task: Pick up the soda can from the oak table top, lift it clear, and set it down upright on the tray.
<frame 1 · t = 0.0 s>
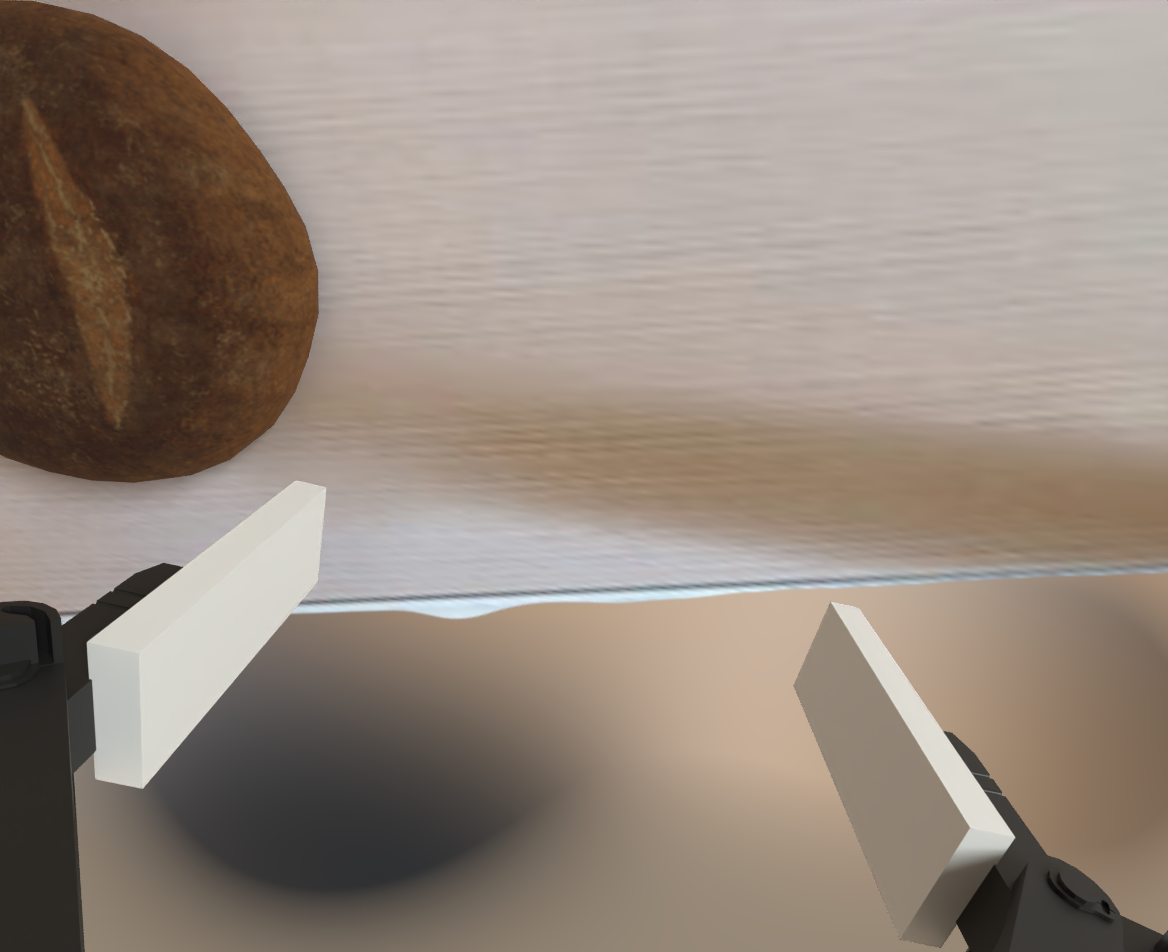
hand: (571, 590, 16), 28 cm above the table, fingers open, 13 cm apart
bread: (118, 268, 41), on the table
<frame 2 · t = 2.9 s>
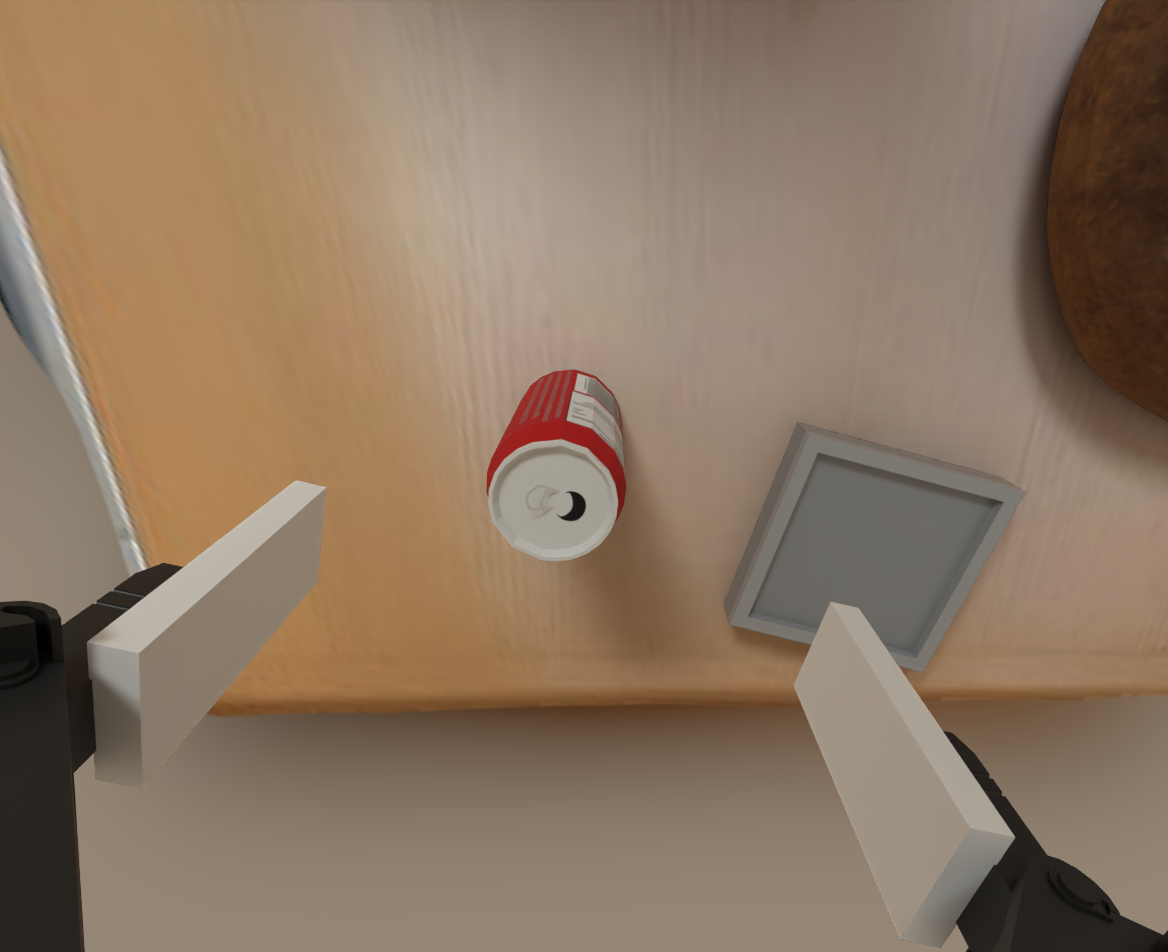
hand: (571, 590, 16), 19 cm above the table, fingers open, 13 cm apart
tray: (856, 544, 36), on the table
soda can: (570, 416, 34), on the table
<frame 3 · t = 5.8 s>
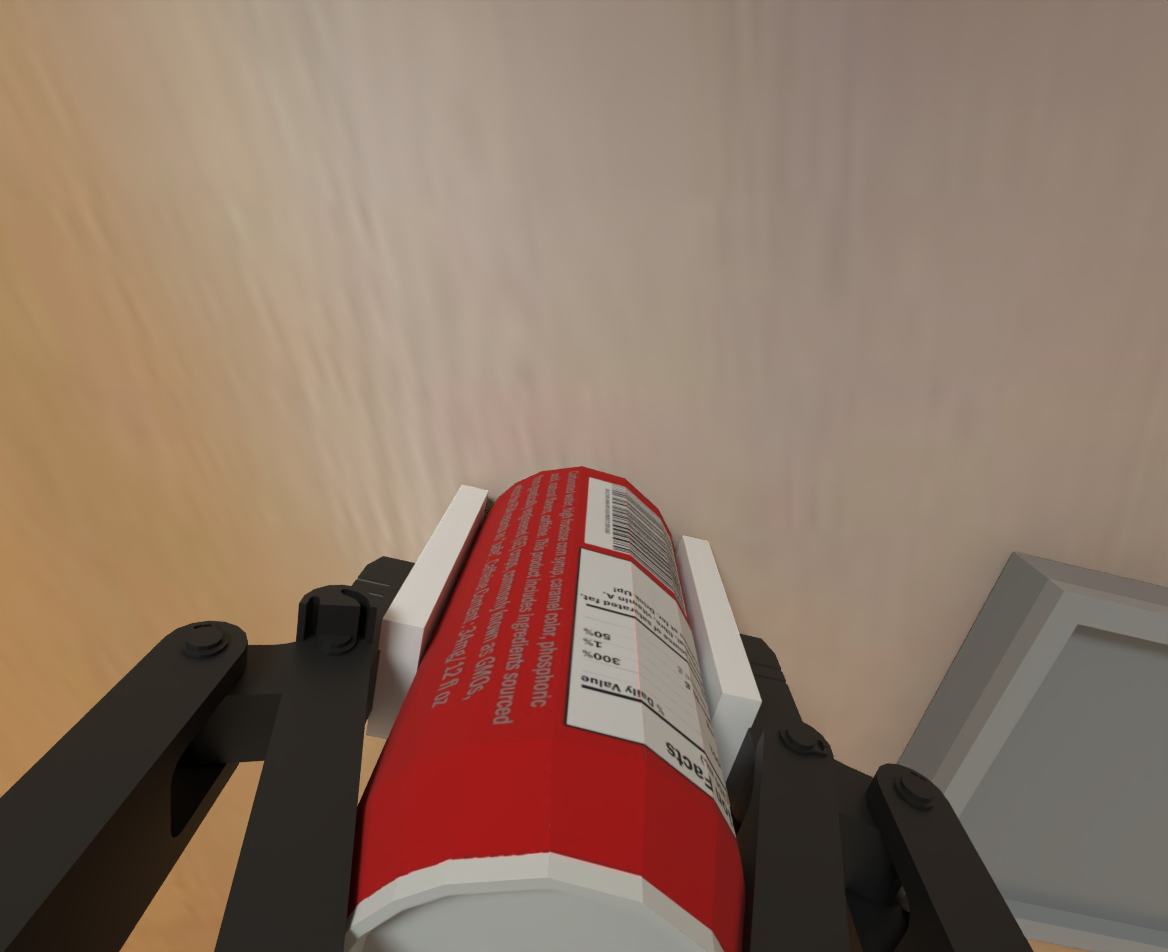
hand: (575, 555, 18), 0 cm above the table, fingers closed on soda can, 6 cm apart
tray: (1100, 754, 20), on the table
soda can: (576, 546, 18), on the table, touching gripper
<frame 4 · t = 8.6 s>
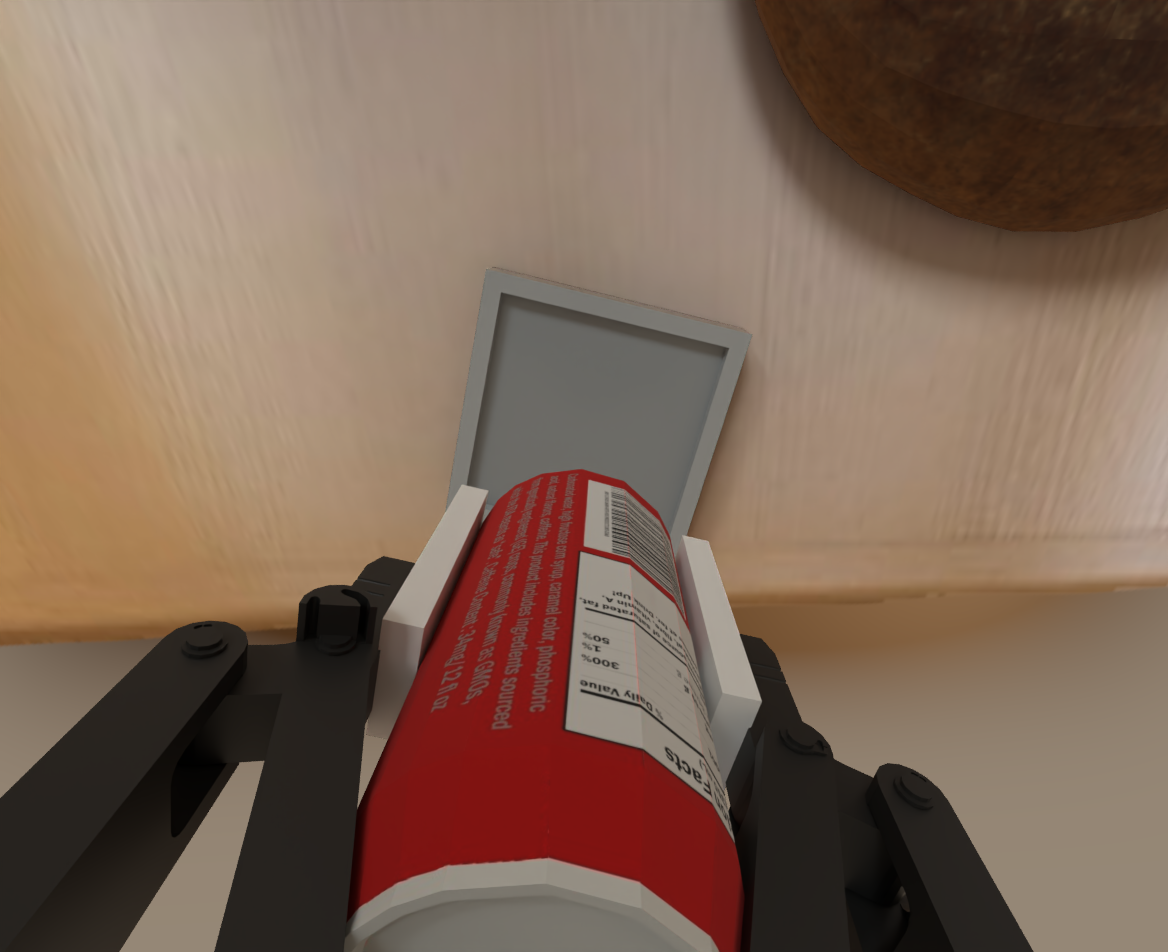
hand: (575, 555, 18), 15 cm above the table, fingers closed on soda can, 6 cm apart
tray: (590, 418, 31), on the table
soda can: (575, 549, 18), point 14 cm above the table, touching gripper
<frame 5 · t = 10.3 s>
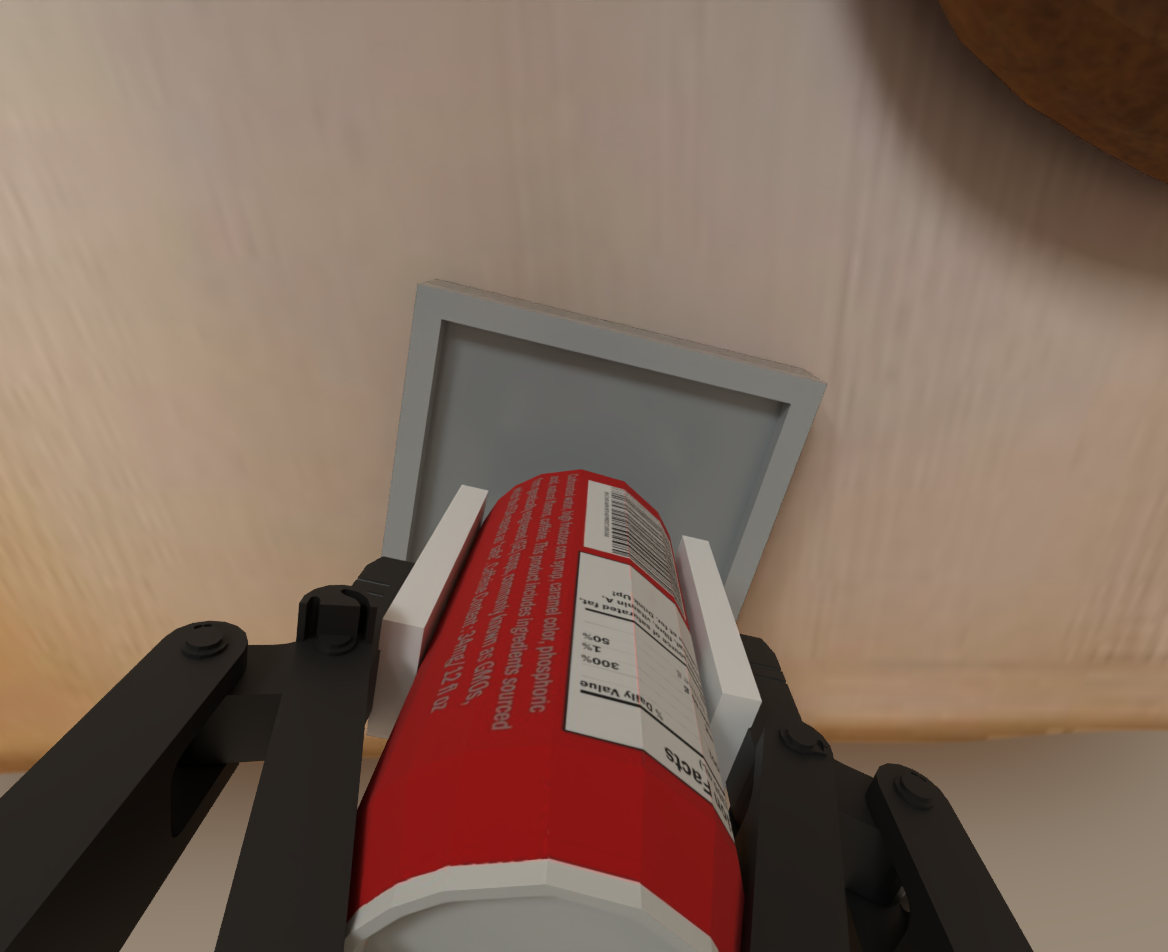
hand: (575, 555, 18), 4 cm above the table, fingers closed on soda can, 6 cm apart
tray: (580, 495, 22), on the table
soda can: (575, 549, 18), point 4 cm above the table, touching gripper
when the fingers open (3 cm above the table, at t = 11.3 s): soda can drops 1 cm, resting on tray.
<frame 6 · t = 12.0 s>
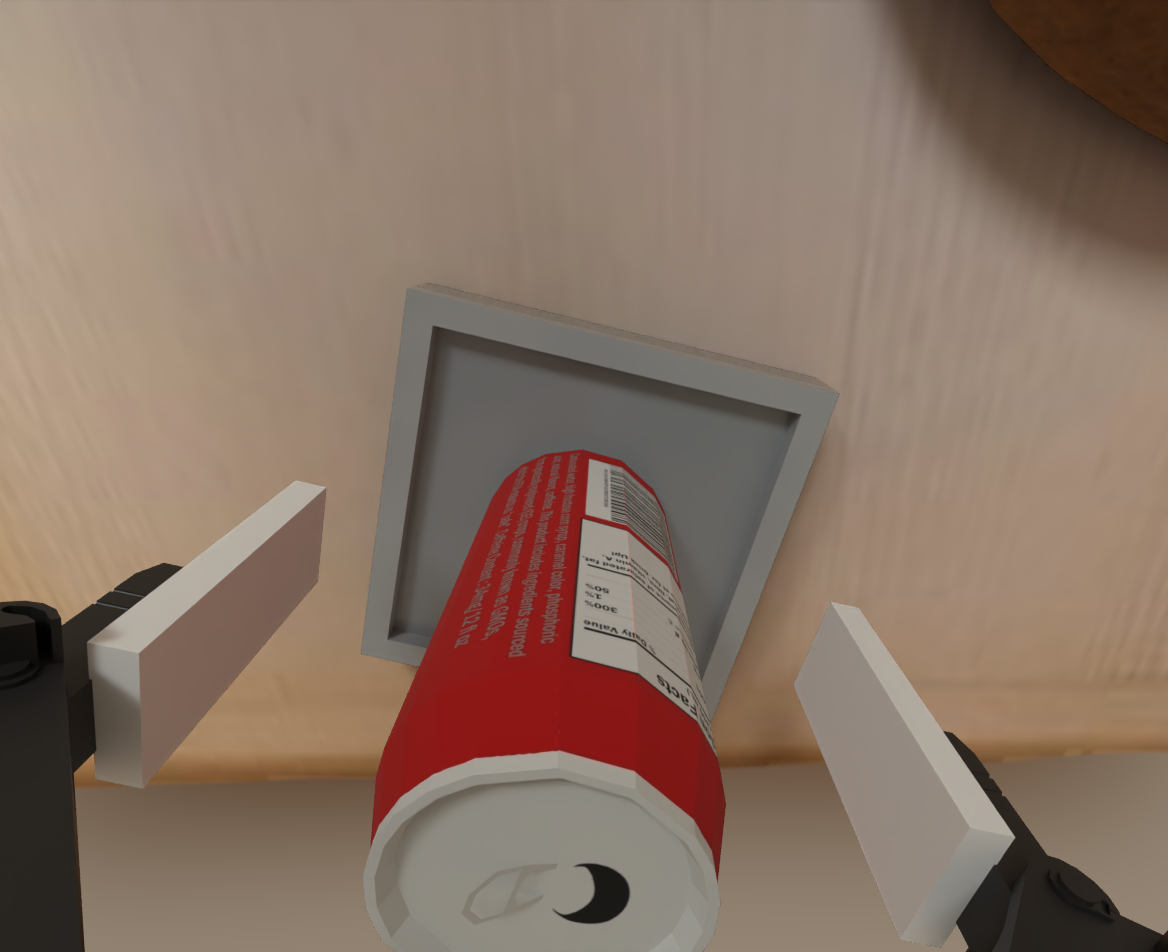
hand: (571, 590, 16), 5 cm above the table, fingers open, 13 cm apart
tray: (579, 508, 21), on the table
soda can: (577, 525, 20), point 1 cm above the table, touching tray
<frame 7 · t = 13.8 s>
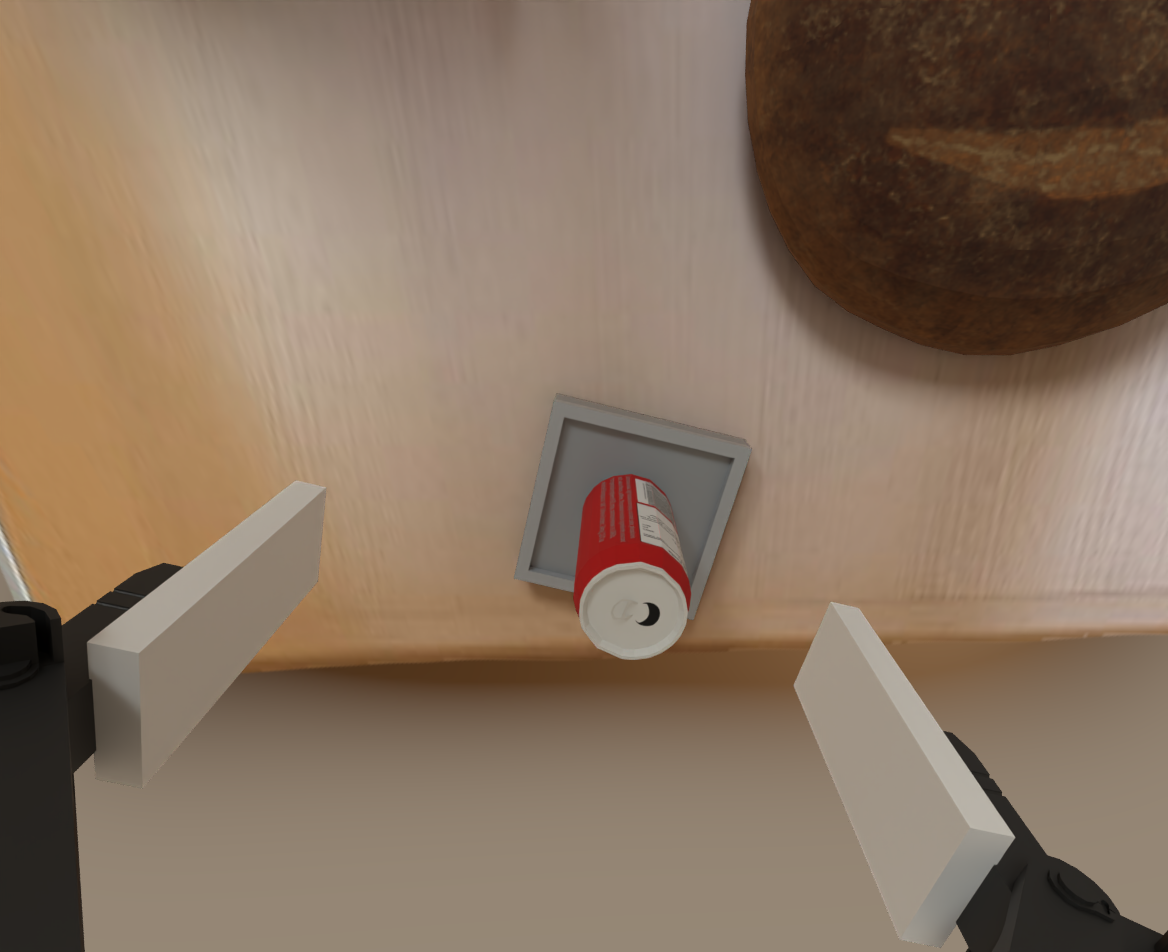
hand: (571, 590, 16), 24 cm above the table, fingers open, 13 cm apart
bread: (998, 74, 32), on the table
tray: (626, 504, 40), on the table
soda can: (626, 511, 39), point 1 cm above the table, touching tray
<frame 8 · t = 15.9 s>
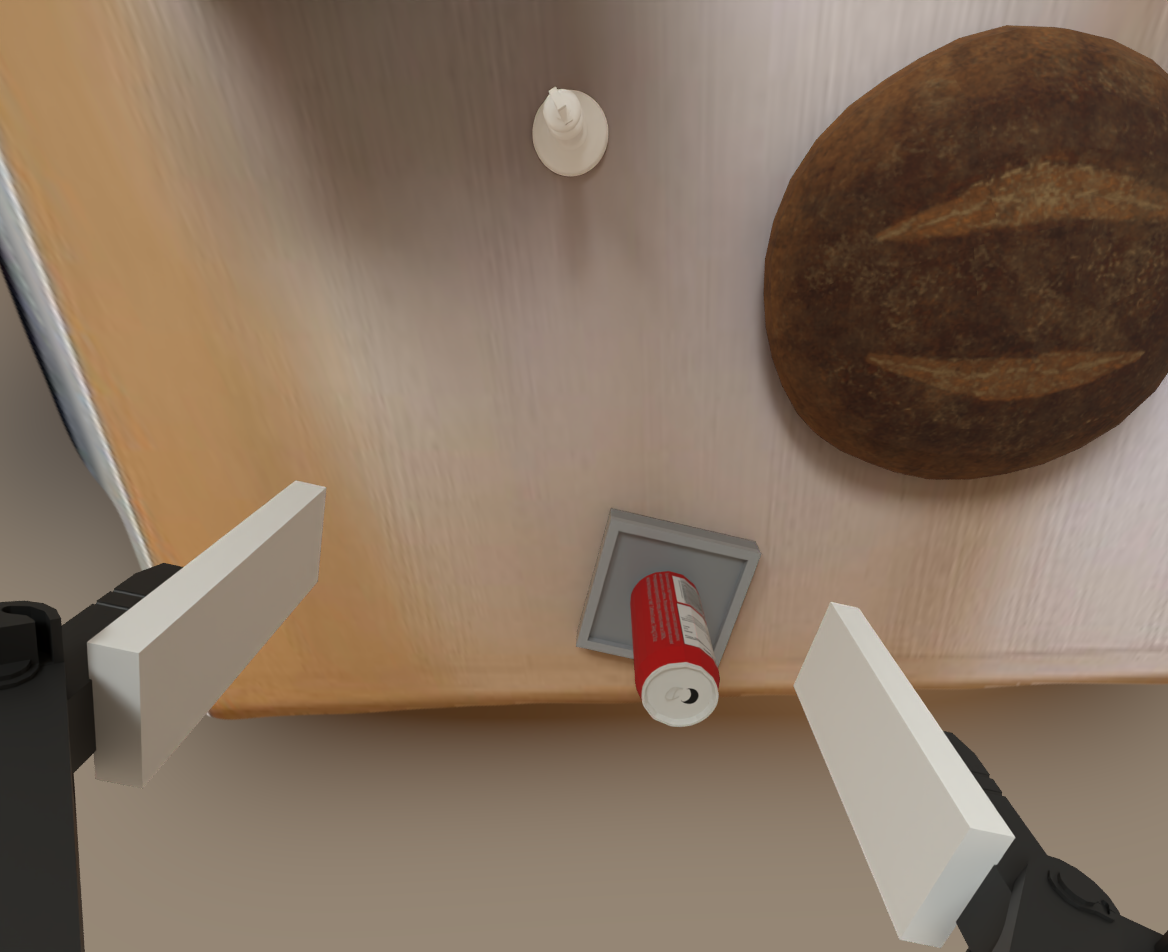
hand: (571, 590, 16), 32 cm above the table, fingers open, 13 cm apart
chess piece: (570, 134, 41), on the table
bread: (952, 279, 43), on the table
tray: (663, 588, 52), on the table
soda can: (663, 596, 51), point 1 cm above the table, touching tray
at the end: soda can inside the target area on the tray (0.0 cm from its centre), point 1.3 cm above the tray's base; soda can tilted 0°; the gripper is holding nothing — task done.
